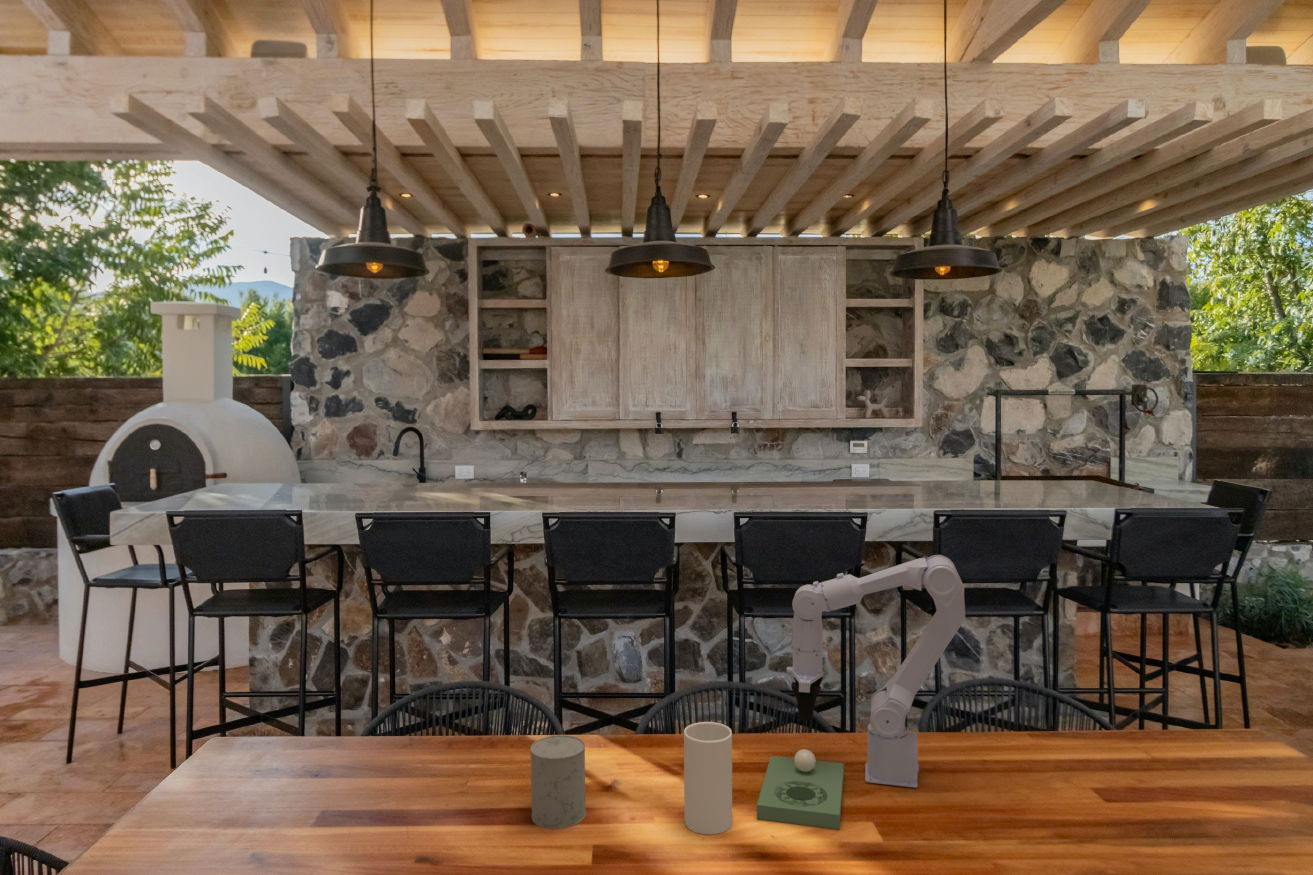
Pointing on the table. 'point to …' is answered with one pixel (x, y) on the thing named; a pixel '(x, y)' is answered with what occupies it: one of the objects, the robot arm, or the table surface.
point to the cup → (708, 777)
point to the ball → (805, 760)
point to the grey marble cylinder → (558, 781)
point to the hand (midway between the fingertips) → (806, 715)
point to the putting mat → (802, 793)
